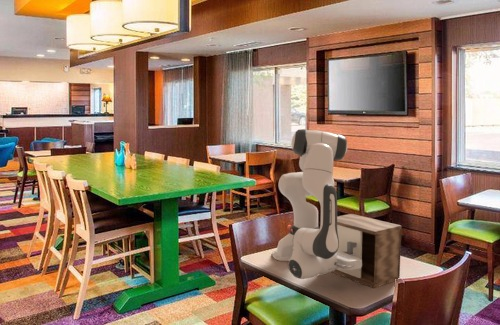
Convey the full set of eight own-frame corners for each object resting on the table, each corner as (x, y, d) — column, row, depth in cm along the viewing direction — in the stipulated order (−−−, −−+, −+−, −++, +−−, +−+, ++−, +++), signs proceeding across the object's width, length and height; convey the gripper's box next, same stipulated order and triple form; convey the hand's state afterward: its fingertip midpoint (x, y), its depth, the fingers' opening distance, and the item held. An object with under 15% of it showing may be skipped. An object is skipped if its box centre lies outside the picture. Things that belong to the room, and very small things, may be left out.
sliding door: (352, 280, 186) (353, 232, 184) (328, 271, 196) (329, 225, 194) (361, 277, 189) (362, 230, 186) (337, 268, 199) (338, 224, 197)
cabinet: (373, 288, 182) (375, 231, 179) (324, 269, 203) (325, 218, 200) (399, 279, 191) (401, 225, 188) (350, 262, 212) (351, 213, 209)
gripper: (347, 259, 171) (372, 253, 179) (308, 246, 188) (333, 240, 196) (346, 276, 172) (372, 269, 180) (308, 261, 188) (333, 255, 196)
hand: (351, 254), depth 188 cm, fingers closed on sliding door, 2 cm apart
